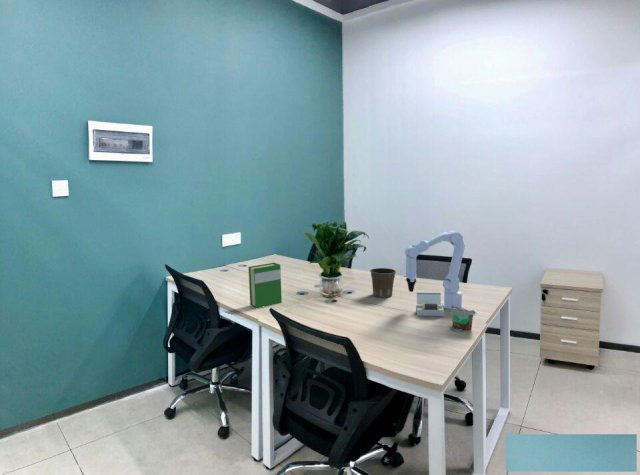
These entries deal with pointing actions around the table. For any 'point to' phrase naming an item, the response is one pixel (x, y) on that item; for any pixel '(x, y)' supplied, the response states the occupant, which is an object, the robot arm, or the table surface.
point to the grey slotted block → (429, 311)
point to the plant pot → (382, 281)
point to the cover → (428, 298)
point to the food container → (462, 318)
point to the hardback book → (265, 284)
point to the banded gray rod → (431, 306)
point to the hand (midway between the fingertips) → (410, 291)
